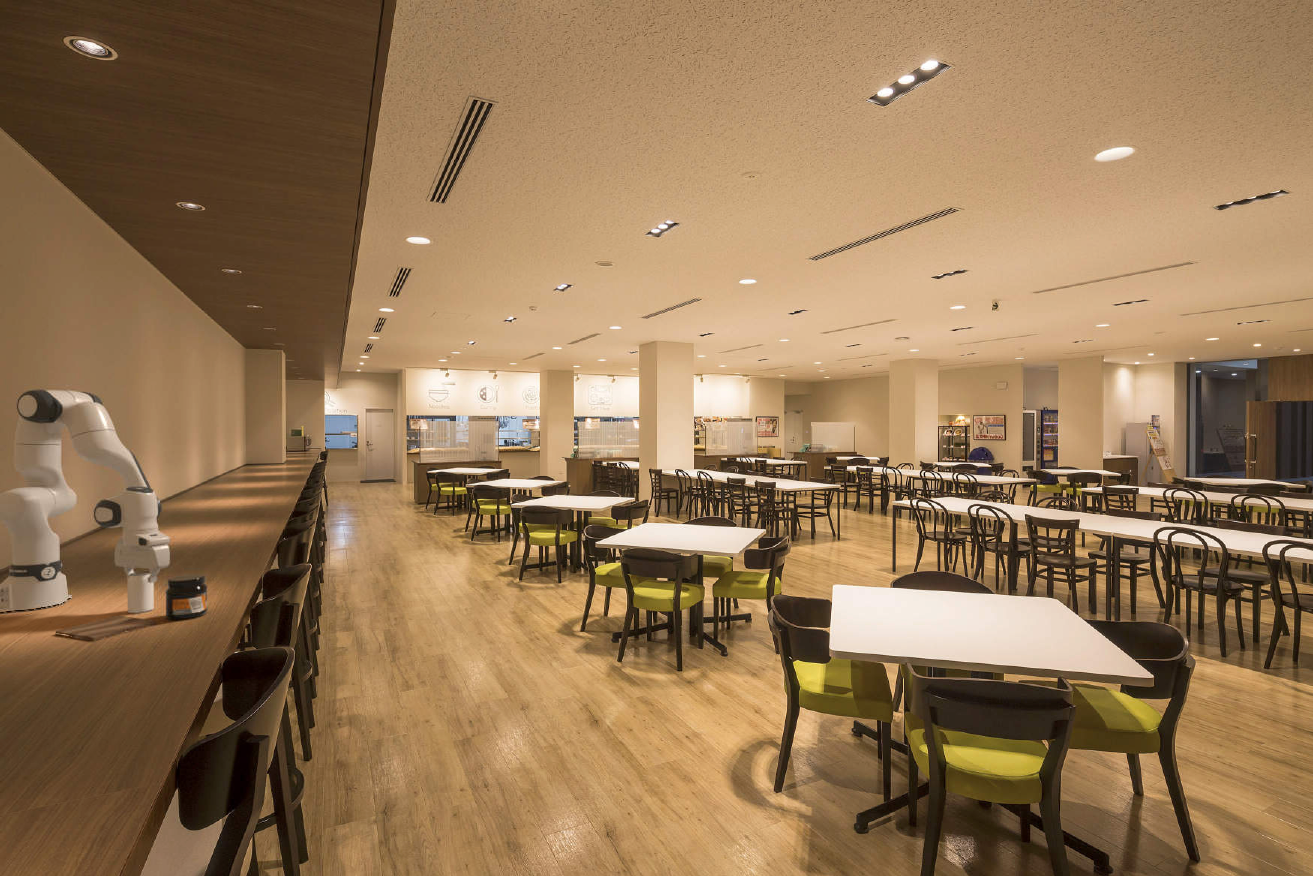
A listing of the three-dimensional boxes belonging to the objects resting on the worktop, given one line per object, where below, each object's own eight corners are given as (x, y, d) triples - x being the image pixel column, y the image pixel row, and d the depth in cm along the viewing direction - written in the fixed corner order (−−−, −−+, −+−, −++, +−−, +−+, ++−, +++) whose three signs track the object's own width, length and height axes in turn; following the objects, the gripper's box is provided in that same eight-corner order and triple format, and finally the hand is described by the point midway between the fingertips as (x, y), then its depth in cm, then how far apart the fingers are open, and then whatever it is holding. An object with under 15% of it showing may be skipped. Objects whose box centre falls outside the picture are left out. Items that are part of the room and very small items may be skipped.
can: (159, 608, 206) (158, 571, 205) (140, 614, 199) (140, 576, 199) (140, 607, 206) (140, 570, 206) (122, 613, 200) (121, 575, 200)
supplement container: (202, 619, 195) (201, 579, 195) (160, 622, 191) (159, 582, 191) (211, 609, 205) (211, 572, 204) (172, 613, 201) (171, 575, 200)
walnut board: (55, 634, 179) (55, 631, 179) (119, 618, 194) (119, 615, 194) (93, 641, 174) (93, 637, 174) (156, 624, 189) (156, 620, 189)
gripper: (107, 538, 203) (108, 581, 203) (152, 541, 196) (153, 585, 196) (129, 534, 209) (130, 577, 209) (173, 537, 202) (174, 581, 202)
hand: (141, 581), depth 203 cm, fingers open, 8 cm apart
